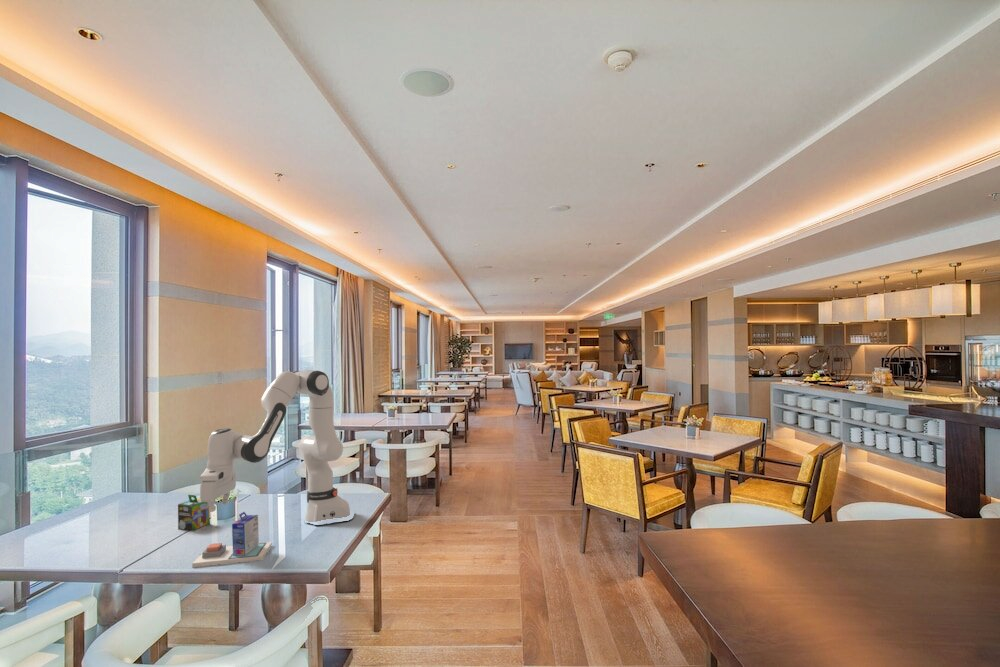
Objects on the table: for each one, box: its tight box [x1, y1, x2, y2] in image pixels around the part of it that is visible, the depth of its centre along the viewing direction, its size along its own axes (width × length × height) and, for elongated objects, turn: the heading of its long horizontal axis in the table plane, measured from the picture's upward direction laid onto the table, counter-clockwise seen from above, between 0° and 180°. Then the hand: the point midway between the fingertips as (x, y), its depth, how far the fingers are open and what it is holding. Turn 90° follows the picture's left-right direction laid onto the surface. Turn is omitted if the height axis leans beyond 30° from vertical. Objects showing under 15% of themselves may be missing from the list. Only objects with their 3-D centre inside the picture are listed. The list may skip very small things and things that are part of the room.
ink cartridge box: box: [231, 511, 260, 555], centre depth 186 cm, size 10×6×14 cm, turn 178°
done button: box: [206, 542, 223, 552], centre depth 183 cm, size 4×4×2 cm
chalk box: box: [177, 494, 211, 532], centre depth 218 cm, size 9×9×15 cm
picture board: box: [191, 541, 273, 568], centre depth 185 cm, size 24×14×4 cm, turn 103°
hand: (218, 507), depth 184 cm, fingers open, 8 cm apart
